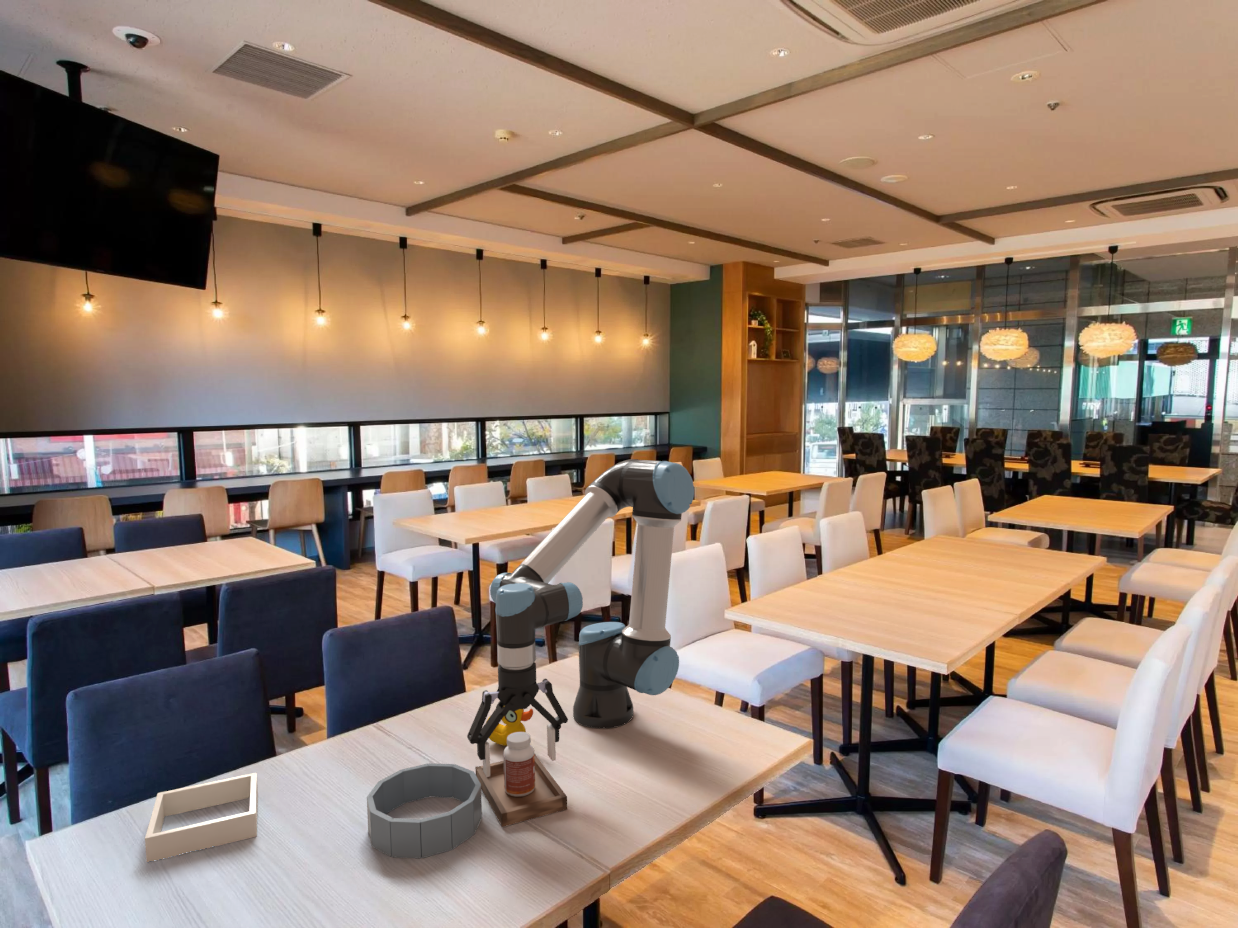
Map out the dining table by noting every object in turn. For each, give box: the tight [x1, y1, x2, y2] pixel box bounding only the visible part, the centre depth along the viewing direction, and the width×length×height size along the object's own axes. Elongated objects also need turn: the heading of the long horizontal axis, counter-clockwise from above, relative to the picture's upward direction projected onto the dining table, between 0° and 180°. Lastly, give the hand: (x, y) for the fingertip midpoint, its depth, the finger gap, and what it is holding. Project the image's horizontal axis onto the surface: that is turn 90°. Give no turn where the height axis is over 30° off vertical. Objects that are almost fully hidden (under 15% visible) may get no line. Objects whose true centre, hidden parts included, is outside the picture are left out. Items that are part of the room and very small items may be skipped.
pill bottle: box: [503, 732, 536, 797], centre depth 144 cm, size 6×6×11 cm
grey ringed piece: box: [366, 762, 483, 859], centre depth 135 cm, size 20×20×6 cm
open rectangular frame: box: [144, 772, 259, 863], centre depth 135 cm, size 17×16×4 cm
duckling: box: [485, 708, 534, 747], centre depth 165 cm, size 11×5×10 cm, turn 79°
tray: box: [475, 752, 568, 828], centre depth 145 cm, size 13×19×3 cm
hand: (519, 765), depth 145 cm, fingers open, 13 cm apart
